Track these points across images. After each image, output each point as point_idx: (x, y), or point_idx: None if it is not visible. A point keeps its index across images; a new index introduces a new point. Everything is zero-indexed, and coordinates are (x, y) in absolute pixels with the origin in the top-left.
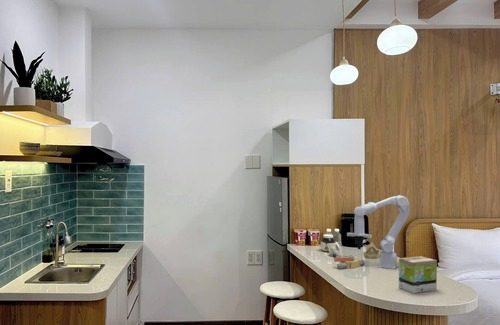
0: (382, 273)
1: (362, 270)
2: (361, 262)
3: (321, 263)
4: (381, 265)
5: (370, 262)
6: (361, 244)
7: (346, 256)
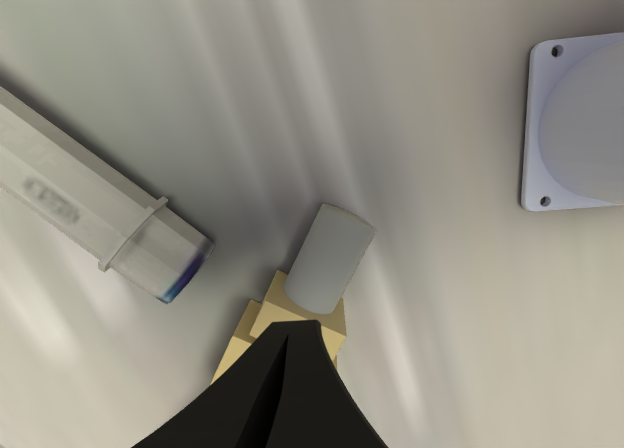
0: (586, 405)
1: (402, 407)
2: (347, 281)
3: (8, 385)
4: (564, 184)
5: (386, 28)
6: (334, 377)
7: (122, 245)
